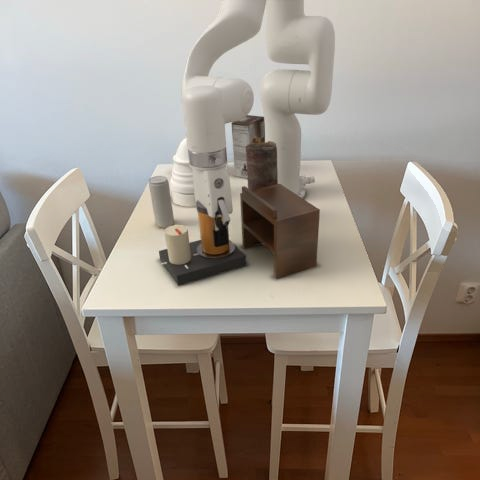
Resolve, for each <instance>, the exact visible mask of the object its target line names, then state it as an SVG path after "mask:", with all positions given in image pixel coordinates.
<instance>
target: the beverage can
mask: <svg viewBox="0 0 480 480" xmlns="http://www.w3.org/2000/svg"><path fill="white" fill-rule="evenodd" d="M148 188H149V193H150V199H151V205H152V210H153V216H154V222H155V225H156V226H157V227H158V228H161V229H166V228H167V227H169V226H173V225H174V223H175V217H174V216H175V215H174V209H173V203H172V195H171V188H170V181H169V180H168V177H167V176H165V175H156V176H152V177H150V178H149V179H148Z"/></svg>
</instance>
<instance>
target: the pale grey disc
mask: <svg viewBox="0 0 480 480" xmlns="http://www.w3.org/2000/svg"><path fill="white" fill-rule="evenodd" d="M229 245H230V247H229V249H228V250H227V251H226V252H224V253H221V254H207V253H205V252H203V250H202V245H201V244H200V245H199V246H198V247H197V253H198V254H199V255H200V256H201V257H204V258H207V259H220V258H224V257H227V256H229V255H231V254H232V253H233V252H234V251H235V246H236V244H235V243H234V242H233V241H232V240H230V241H229Z"/></svg>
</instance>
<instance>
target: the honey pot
mask: <svg viewBox="0 0 480 480" xmlns="http://www.w3.org/2000/svg"><path fill="white" fill-rule="evenodd" d="M172 160H173V166H172V168H171V178H170V180H169V186H170V194H171V200H172V202H173V203H174V204H176V205H177V206H181V207H187V208H189V207H190V208H191V207H192V208H193V207H194V208H196V200H195V195H194V187H193V171H192V168H191V167H190V166H189V157H188V148H187V140H186V137H184V138H183V139H182V140H181V142H180V144H179V145H178V147H177V150H176V153H175V154H174V155H173V157H172Z"/></svg>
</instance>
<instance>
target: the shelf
mask: <svg viewBox="0 0 480 480" xmlns="http://www.w3.org/2000/svg"><path fill="white" fill-rule="evenodd" d="M239 202H240V219H241V220H240V222H241V241H242V248H243V249H248V248H251V247H254V246H259V245H263V246H264V247H266V248H267V249H268V250H269V251H270V252H271V253H272V254H273V277H274V278H275V279H276V280H277V279H281V278H284V277H286V276H289V275H293V274H296V273H299V272H302V271H305V270H309V269H312V268H314V267H317V262H318V248H319V247H318V245H319V229H320V228H319V227H320V213H321V212H320V211H321V210H320V208H318V207H317V206H315V205H313V203H311V202H309V201H307V200H306V199H304V197H303V198H301V197H300V196H298V195H297V194H295V193H293V192H292V191H290V190H289V189H287V188H286V187H284V186H283V185H281V184H276V185H272V186H268V187H264V188H260V189H256V190H250V189H248V186H245V185H243V186H241V192H240V193H239Z"/></svg>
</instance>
